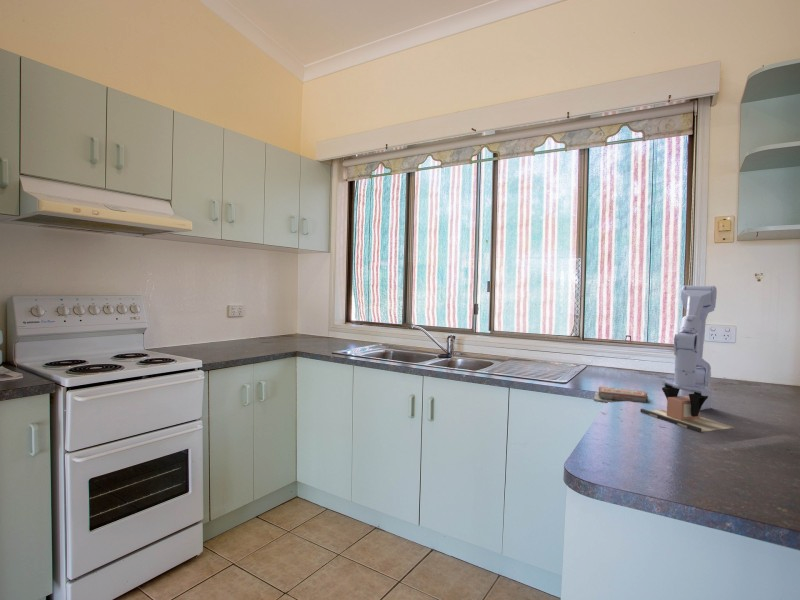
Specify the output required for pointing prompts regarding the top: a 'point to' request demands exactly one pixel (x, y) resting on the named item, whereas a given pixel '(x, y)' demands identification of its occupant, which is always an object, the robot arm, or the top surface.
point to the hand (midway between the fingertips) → (683, 412)
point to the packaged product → (619, 395)
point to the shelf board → (688, 421)
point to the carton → (680, 408)
